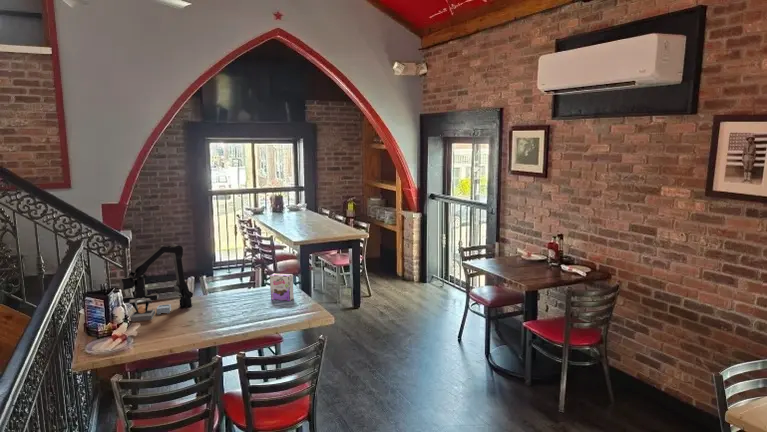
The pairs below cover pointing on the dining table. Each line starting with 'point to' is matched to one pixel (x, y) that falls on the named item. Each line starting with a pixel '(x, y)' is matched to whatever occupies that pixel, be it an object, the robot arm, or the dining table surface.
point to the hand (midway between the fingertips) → (142, 312)
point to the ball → (141, 309)
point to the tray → (142, 315)
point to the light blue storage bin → (163, 309)
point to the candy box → (281, 287)
